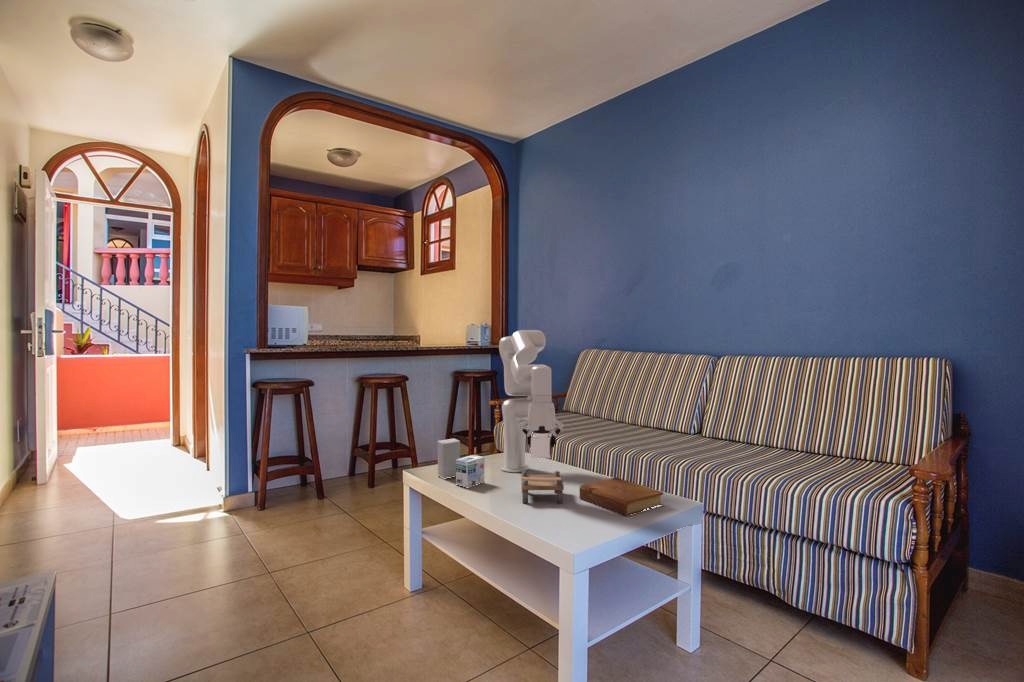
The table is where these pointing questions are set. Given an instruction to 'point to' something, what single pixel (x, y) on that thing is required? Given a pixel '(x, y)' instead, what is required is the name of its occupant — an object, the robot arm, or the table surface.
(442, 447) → the skincare box
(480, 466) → the light bulb box
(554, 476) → the shelf stand
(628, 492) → the diary
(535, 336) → the robot arm
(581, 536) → the table surface
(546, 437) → the medicine bottle
